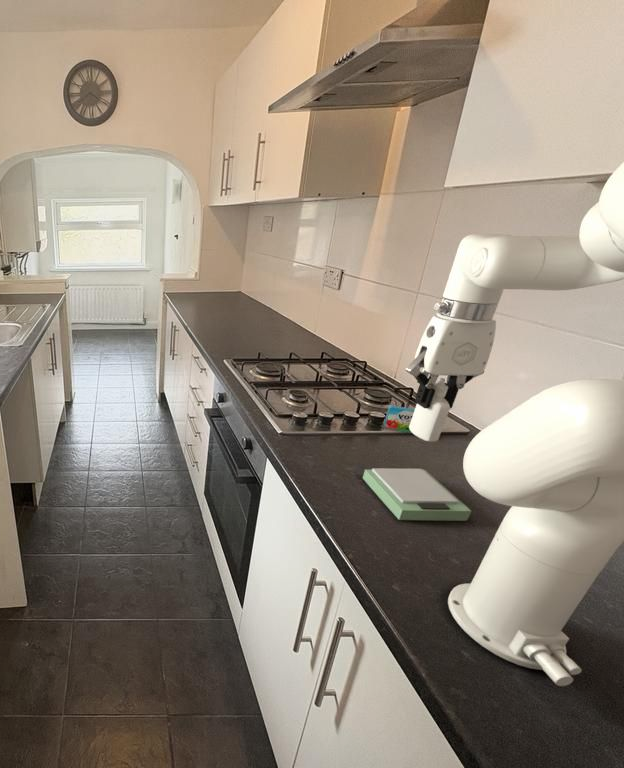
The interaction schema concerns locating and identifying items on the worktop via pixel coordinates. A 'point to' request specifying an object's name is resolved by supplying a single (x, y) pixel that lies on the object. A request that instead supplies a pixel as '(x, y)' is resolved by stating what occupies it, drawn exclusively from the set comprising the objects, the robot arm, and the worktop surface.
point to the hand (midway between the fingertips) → (432, 404)
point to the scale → (415, 495)
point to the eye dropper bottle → (431, 415)
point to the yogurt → (399, 418)
